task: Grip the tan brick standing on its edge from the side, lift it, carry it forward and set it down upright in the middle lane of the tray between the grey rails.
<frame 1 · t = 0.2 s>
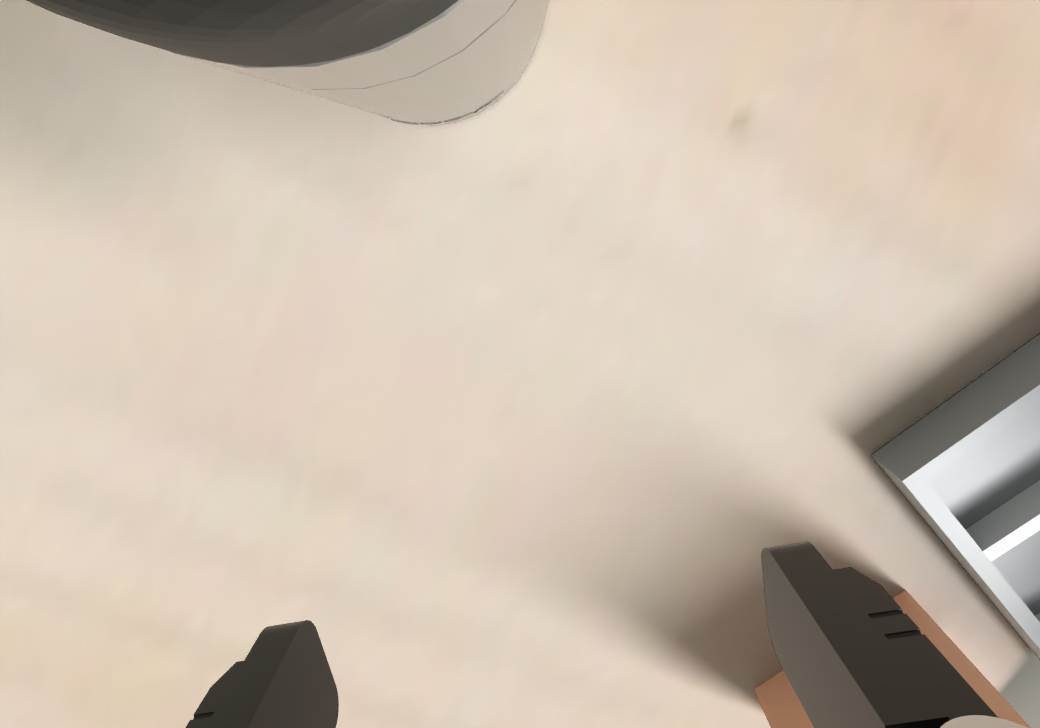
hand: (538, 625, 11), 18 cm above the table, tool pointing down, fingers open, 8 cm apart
tan brick: (844, 658, 34), on the table
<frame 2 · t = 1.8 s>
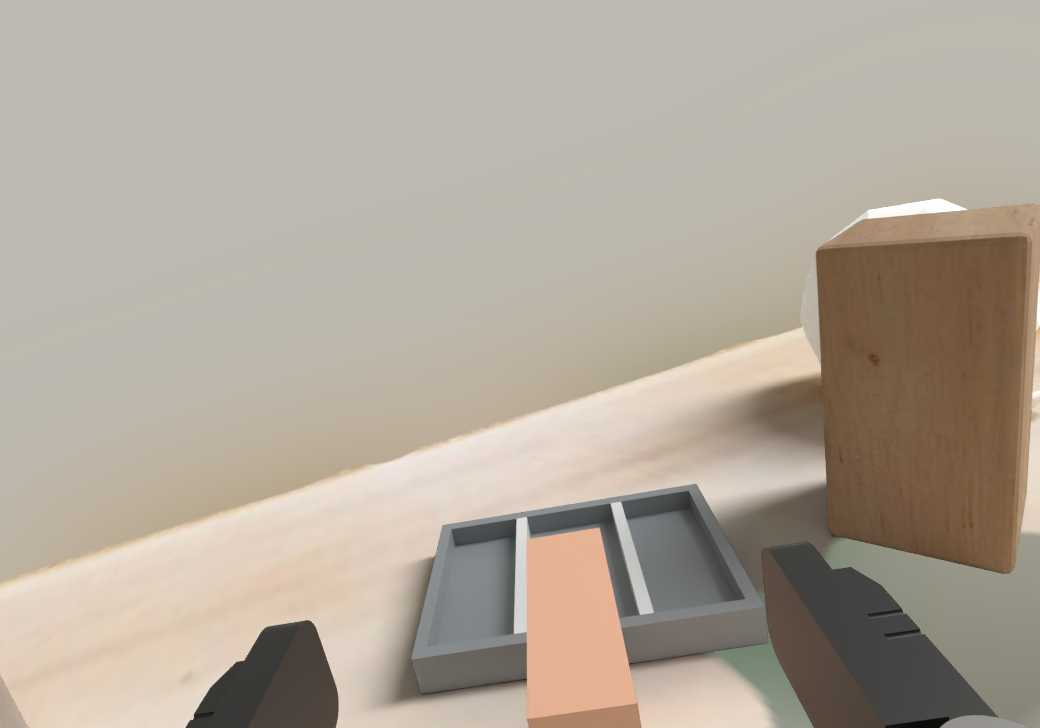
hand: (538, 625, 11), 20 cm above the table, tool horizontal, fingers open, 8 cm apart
tray: (580, 589, 41), on the table
geometric form: (918, 396, 59), on the table
wooden block: (926, 518, 42), on the table
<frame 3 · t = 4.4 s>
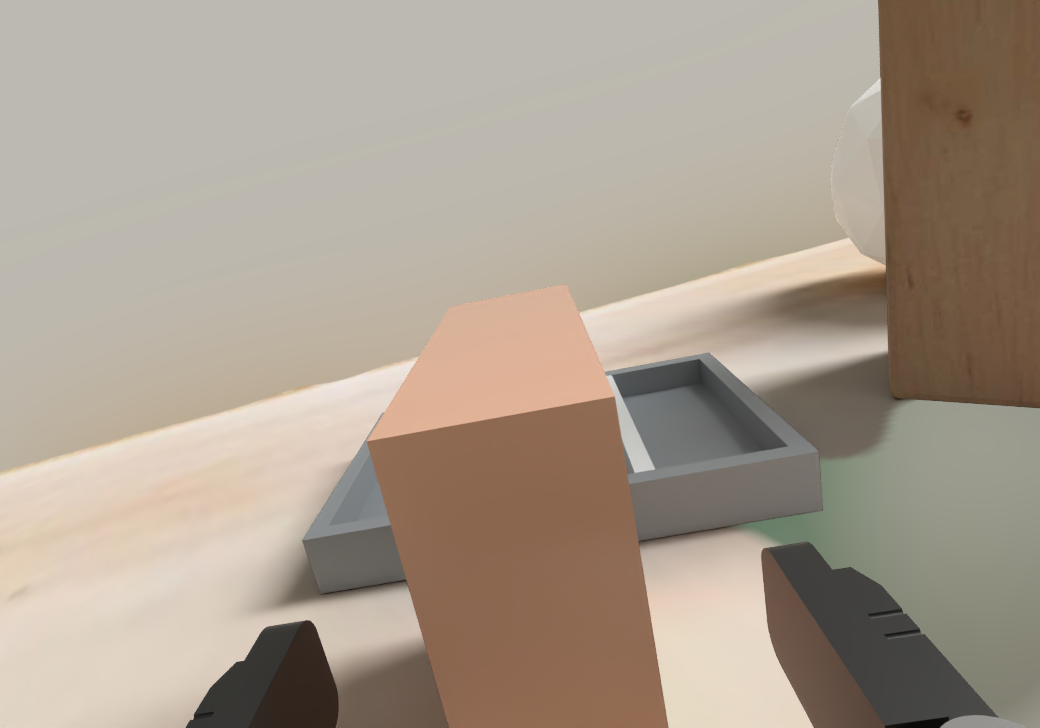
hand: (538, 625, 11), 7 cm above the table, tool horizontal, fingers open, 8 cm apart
tray: (556, 472, 31), on the table
geometric form: (976, 280, 49), on the table
wooden block: (1021, 376, 31), on the table
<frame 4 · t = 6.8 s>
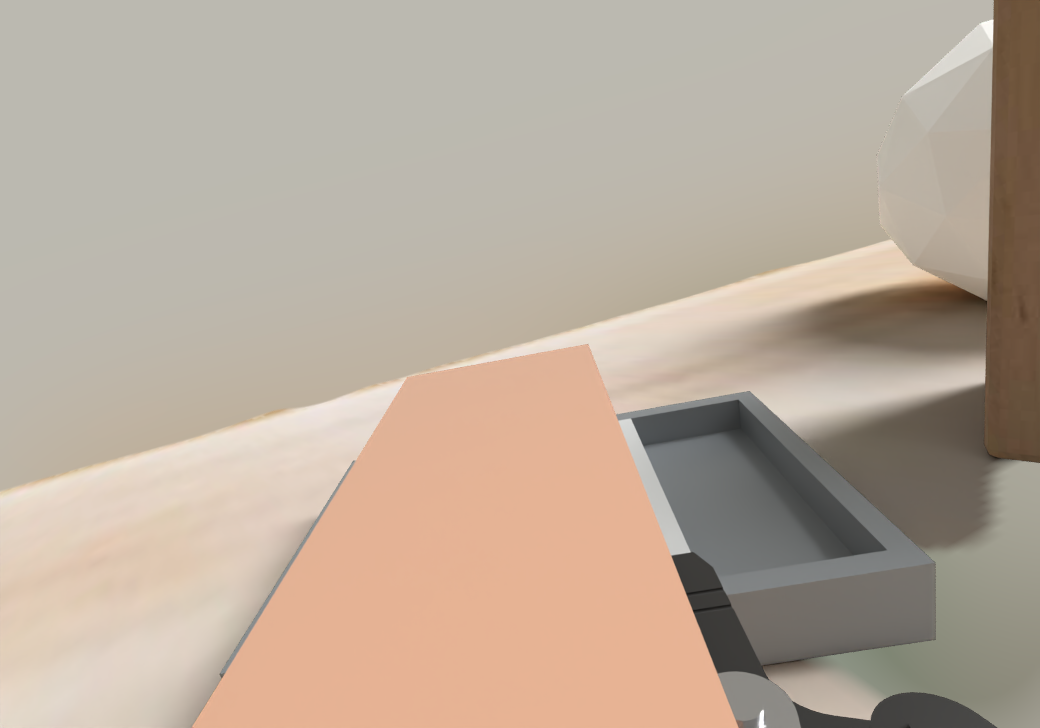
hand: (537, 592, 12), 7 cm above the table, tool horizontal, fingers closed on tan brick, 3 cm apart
tray: (564, 551, 24), on the table
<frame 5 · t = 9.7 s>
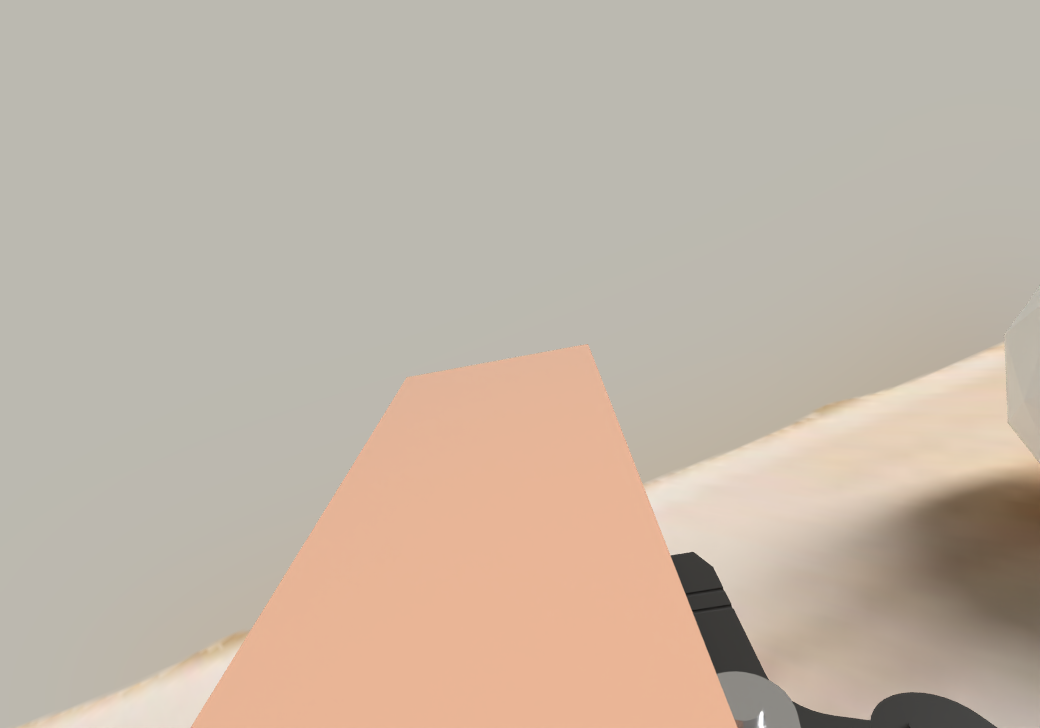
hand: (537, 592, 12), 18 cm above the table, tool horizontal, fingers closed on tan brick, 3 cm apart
when the fingers open (9 cm above the table, at t = 12.7 s): tan brick drops 1 cm, resting on tray.
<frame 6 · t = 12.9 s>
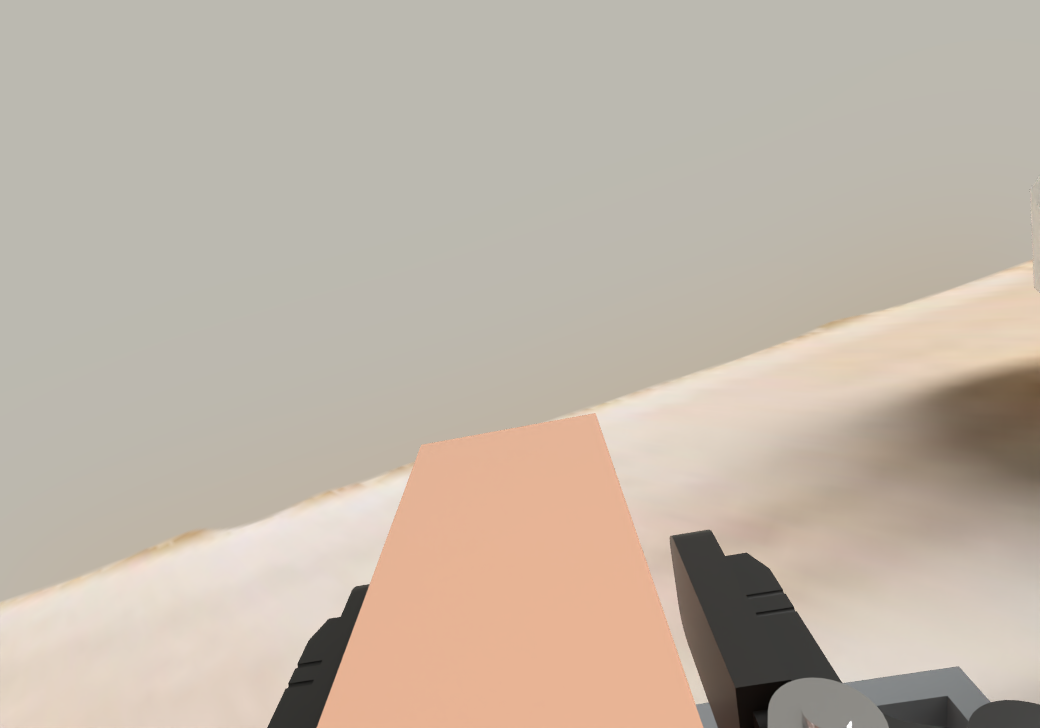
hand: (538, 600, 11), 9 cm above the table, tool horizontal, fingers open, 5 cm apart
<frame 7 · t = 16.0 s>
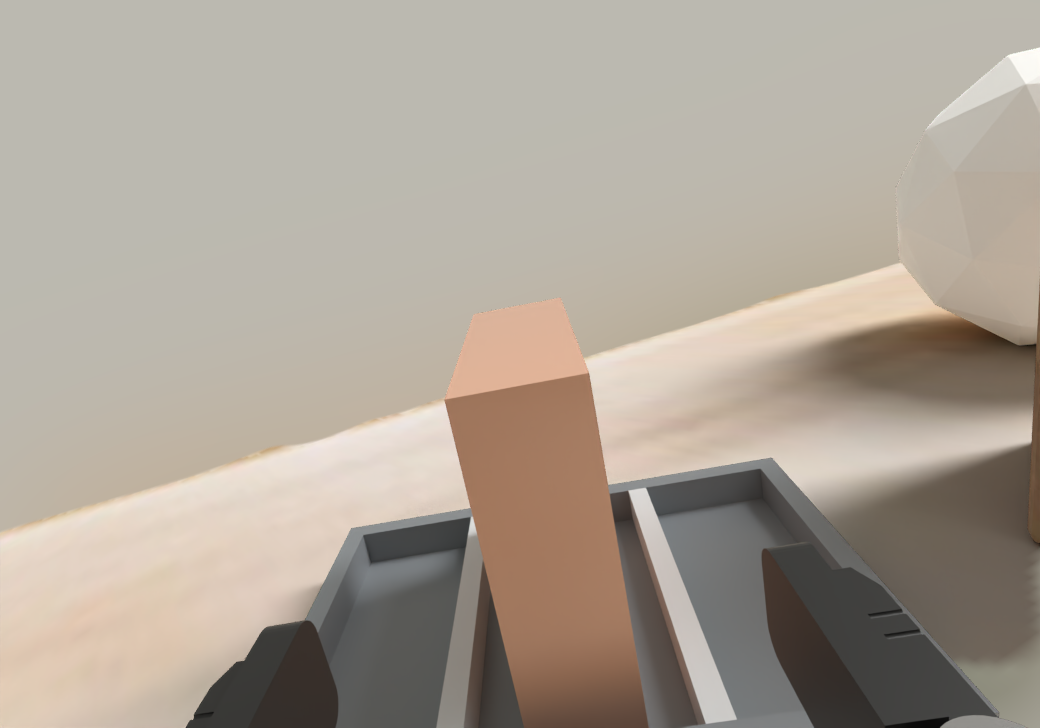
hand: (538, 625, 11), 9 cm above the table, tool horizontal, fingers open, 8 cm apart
tan brick: (574, 622, 22), point 1 cm above the table, touching tray
tray: (577, 646, 23), on the table
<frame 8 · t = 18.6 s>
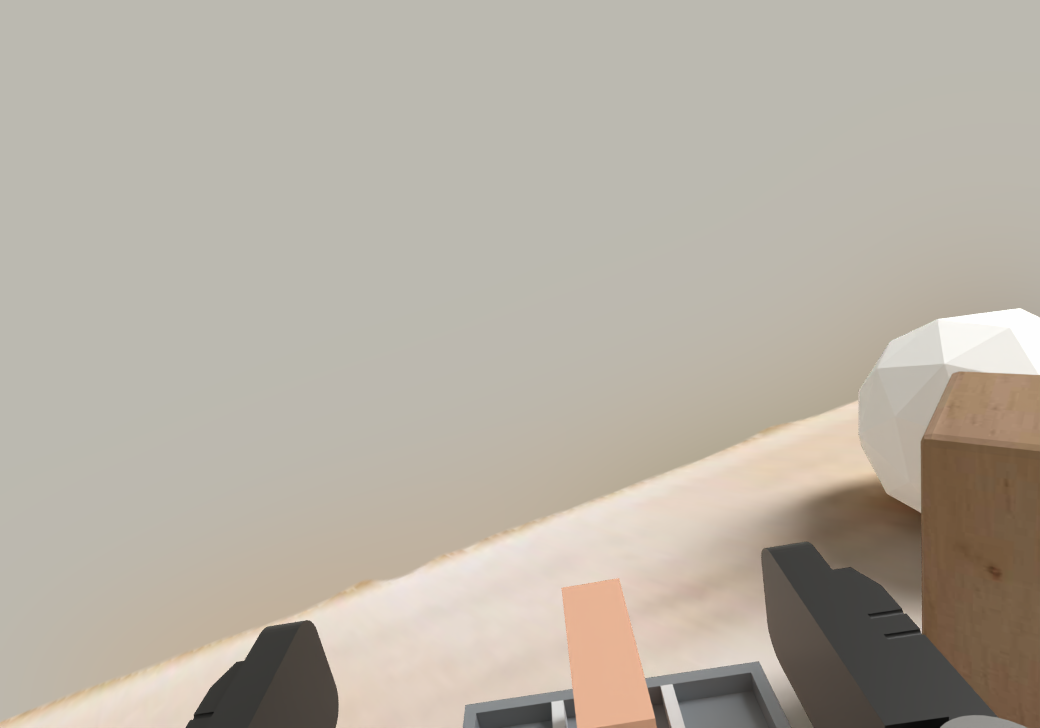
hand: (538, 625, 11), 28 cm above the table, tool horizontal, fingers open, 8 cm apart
geometric form: (992, 521, 53), on the table
wooden block: (1038, 724, 36), on the table
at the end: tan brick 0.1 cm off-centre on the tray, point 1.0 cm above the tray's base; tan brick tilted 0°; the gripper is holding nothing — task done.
